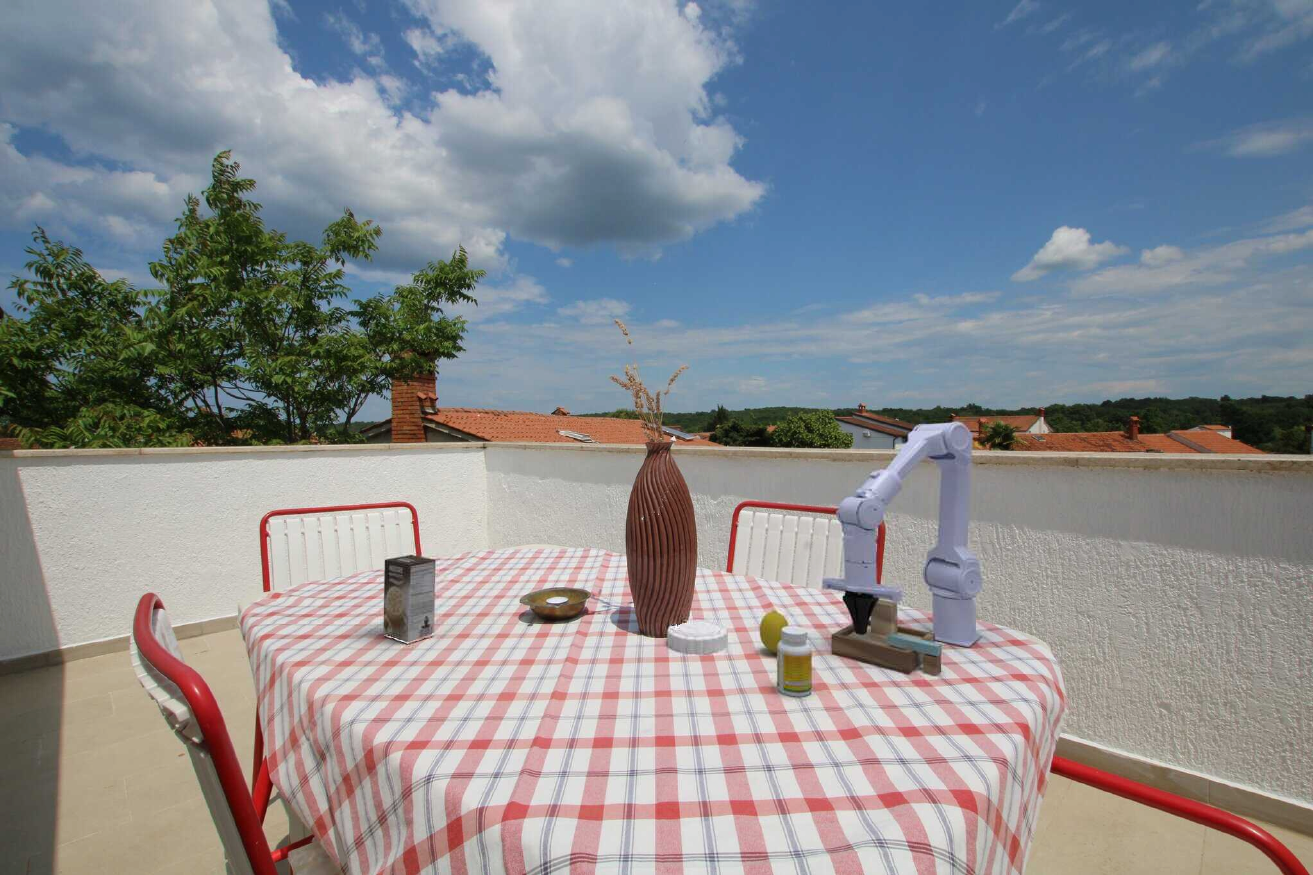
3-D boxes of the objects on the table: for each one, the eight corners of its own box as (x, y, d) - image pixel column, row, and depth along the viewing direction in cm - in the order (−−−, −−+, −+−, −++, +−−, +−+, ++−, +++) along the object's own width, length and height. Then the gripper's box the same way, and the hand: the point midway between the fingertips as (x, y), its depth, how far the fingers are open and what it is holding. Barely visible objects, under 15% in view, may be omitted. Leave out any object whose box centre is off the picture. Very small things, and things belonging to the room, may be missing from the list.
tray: (862, 635, 113) (862, 618, 113) (955, 657, 101) (955, 637, 101) (831, 653, 103) (831, 634, 103) (930, 680, 91) (930, 658, 91)
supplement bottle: (770, 687, 88) (769, 627, 88) (796, 681, 90) (795, 622, 91) (792, 700, 83) (791, 637, 84) (819, 693, 86) (818, 632, 86)
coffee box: (381, 637, 113) (382, 559, 113) (409, 628, 118) (410, 554, 119) (407, 645, 108) (408, 563, 108) (436, 636, 113) (437, 558, 114)
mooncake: (740, 647, 107) (740, 629, 107) (692, 660, 100) (692, 641, 100) (701, 631, 117) (701, 614, 117) (655, 642, 110) (655, 624, 110)
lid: (866, 628, 111) (865, 595, 111) (925, 641, 103) (925, 606, 103) (841, 641, 103) (840, 606, 103) (903, 657, 95) (903, 619, 95)
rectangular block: (891, 641, 100) (891, 632, 100) (941, 653, 94) (941, 643, 94) (887, 644, 99) (887, 635, 99) (937, 656, 93) (937, 646, 93)
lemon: (790, 659, 100) (789, 615, 100) (759, 657, 101) (759, 613, 101) (789, 649, 105) (788, 607, 106) (760, 647, 106) (759, 605, 107)
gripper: (814, 558, 105) (815, 629, 105) (891, 569, 95) (892, 647, 95) (831, 553, 111) (832, 621, 110) (905, 563, 101) (906, 638, 100)
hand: (861, 633), depth 103 cm, fingers closed
